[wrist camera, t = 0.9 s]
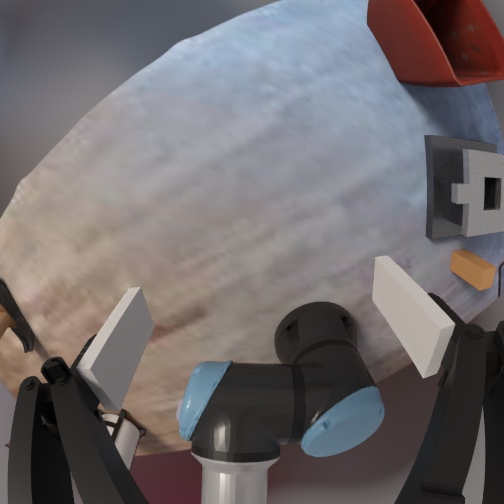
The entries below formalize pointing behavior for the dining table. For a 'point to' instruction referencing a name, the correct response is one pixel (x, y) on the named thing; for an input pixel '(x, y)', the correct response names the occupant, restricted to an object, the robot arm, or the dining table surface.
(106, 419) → the coffee press
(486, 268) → the orange rectangular block
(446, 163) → the tabbed square frame
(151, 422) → the dining table surface
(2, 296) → the hammer
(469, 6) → the plant pot
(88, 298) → the dining table surface
